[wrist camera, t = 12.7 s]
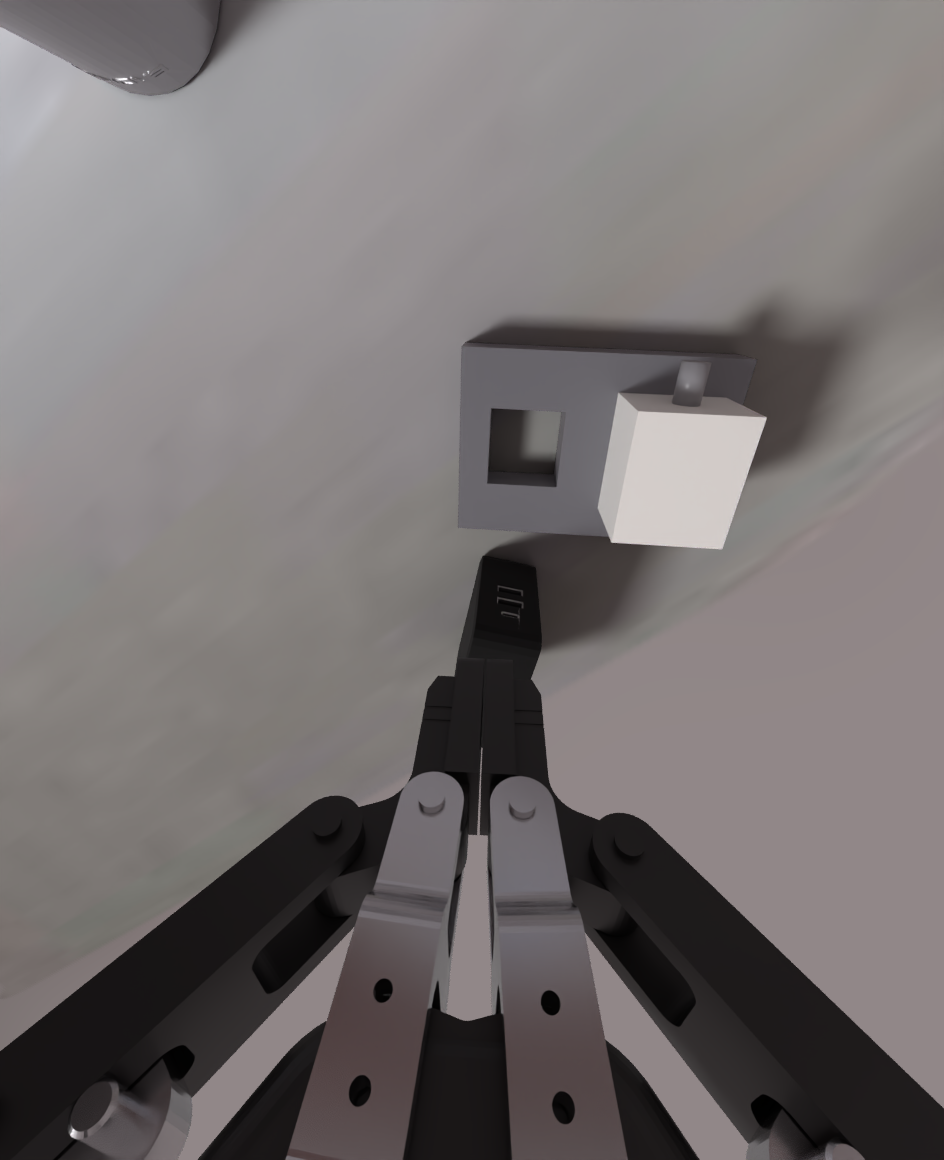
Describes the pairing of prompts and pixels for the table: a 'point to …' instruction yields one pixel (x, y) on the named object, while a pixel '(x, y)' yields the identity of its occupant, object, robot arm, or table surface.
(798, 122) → the table surface
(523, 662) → the electronic device
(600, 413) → the socket plate
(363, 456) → the table surface
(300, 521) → the table surface
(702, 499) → the plug
